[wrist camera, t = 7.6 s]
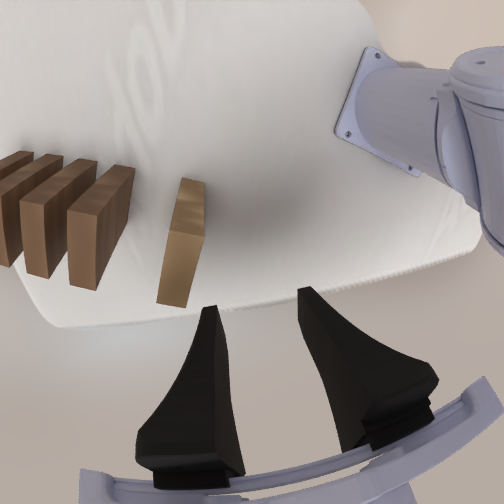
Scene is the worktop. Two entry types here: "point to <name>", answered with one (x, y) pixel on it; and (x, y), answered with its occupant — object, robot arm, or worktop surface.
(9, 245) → the domino
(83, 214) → the domino
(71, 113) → the worktop surface
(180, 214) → the domino
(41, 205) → the domino
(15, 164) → the domino
